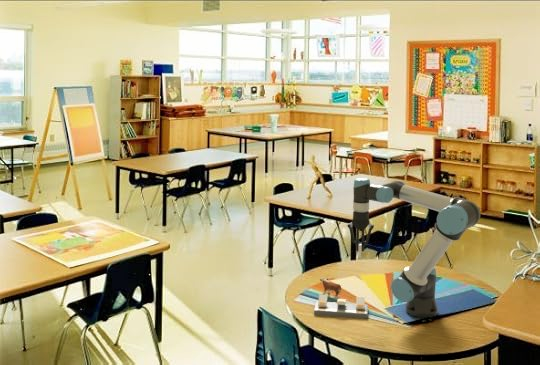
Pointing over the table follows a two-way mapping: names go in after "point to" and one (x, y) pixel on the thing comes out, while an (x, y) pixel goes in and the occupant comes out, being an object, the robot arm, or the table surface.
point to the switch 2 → (360, 302)
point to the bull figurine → (331, 286)
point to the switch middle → (341, 301)
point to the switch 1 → (322, 300)
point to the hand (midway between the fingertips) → (359, 257)
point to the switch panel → (341, 310)
